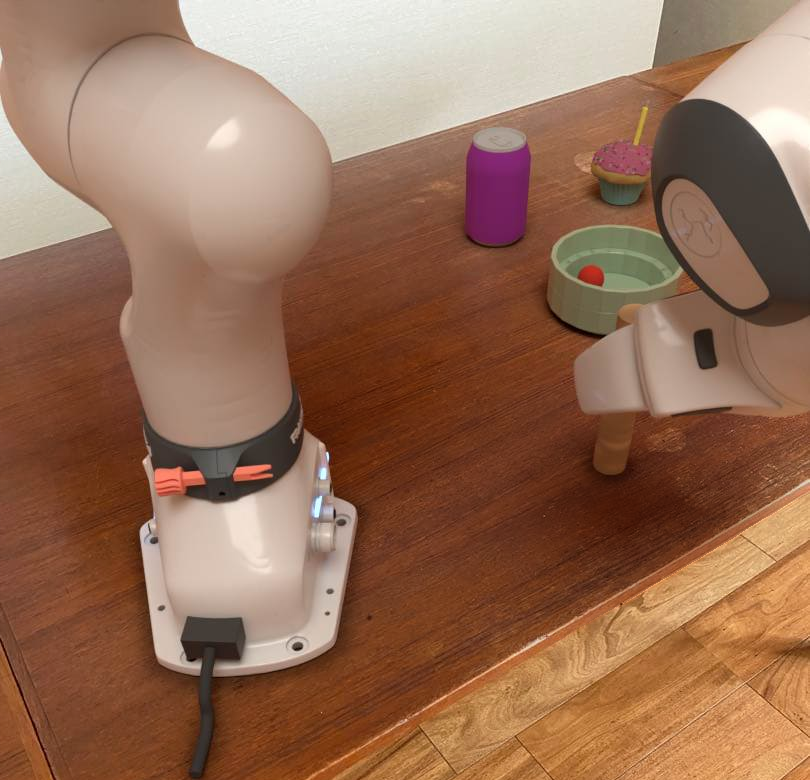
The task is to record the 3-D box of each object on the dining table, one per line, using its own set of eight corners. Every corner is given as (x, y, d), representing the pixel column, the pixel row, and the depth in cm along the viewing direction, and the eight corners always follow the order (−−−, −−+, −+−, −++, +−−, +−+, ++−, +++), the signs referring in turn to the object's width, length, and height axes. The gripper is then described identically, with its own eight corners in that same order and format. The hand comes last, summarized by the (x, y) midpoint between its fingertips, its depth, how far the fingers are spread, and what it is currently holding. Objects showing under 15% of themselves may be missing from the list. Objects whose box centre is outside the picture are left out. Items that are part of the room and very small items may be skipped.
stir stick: (629, 473, 79) (662, 322, 67) (597, 476, 79) (624, 325, 67) (620, 452, 81) (650, 301, 69) (589, 455, 81) (614, 304, 69)
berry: (605, 296, 98) (609, 272, 95) (579, 299, 97) (582, 275, 95) (598, 282, 100) (602, 259, 97) (573, 285, 100) (575, 261, 97)
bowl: (691, 335, 93) (704, 285, 89) (562, 346, 93) (568, 297, 88) (652, 267, 103) (662, 219, 99) (535, 277, 102) (539, 229, 98)
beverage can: (452, 233, 110) (453, 136, 101) (497, 214, 113) (502, 119, 104) (492, 256, 106) (496, 158, 97) (538, 236, 109) (546, 139, 100)
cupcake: (629, 178, 119) (644, 85, 110) (665, 204, 114) (684, 109, 105) (575, 191, 117) (585, 98, 108) (608, 218, 111) (622, 122, 103)
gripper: (946, 255, 50) (806, 311, 64) (615, 308, 48) (542, 355, 62) (962, 363, 51) (819, 396, 64) (634, 421, 48) (557, 442, 62)
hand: (682, 376), depth 63 cm, fingers open, 8 cm apart
